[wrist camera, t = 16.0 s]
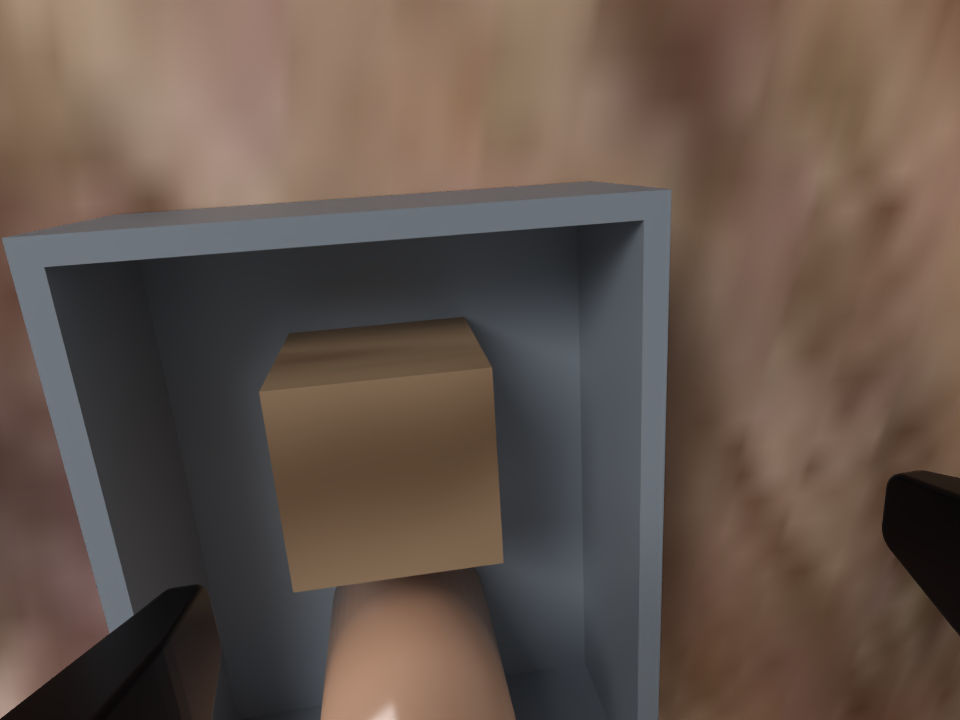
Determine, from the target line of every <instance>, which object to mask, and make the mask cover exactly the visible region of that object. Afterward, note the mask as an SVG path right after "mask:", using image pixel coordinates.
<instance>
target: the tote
mask: <svg viewBox="0 0 960 720" xmlns="http://www.w3.org/2000/svg"><path fill="white" fill-rule="evenodd" d="M670 228H671V189H663V188H653V187H643V186H633V185H623V184H613V183H602V182H592V181H589V182H575V183H561V184H546V185H532V186H518V187H504V188H489V189H475V190H461V191H447V192H432V193H418V194H404V195H390V196H375V197H361V198H347V199H332V200H318V201H304V202H290V203H275V204H261V205H247V206H233V207H218V208H204V209H190V210H176V211H161V212H147V213H133V214H119V215H111V216H106V217H101V218H96V219H92V220H87V221H82V222H77V223H72V224H67V225H63V226H58V227H53V228H48V229H43V230H38V231H33V232H29V233H24V234H19V235H14V236H9V237H4V238H2V241H3V244H4V248H5V252H6V255H7V259H8V263H9V266H10V270H11V274H12V277H13V281H14V284H15V288H16V292H17V295H18V299H19V303H20V306H21V310H22V314H23V317H24V321H25V325H26V328H27V332H28V336H29V339H30V343H31V347H32V350H33V354H34V358H35V361H36V365H37V369H38V372H39V376H40V380H41V383H42V387H43V391H44V394H45V398H46V402H47V405H48V409H49V413H50V416H51V420H52V424H53V427H54V431H55V435H56V438H57V442H58V446H59V449H60V453H61V457H62V460H63V464H64V468H65V471H66V475H67V478H68V482H69V486H70V489H71V493H72V497H73V500H74V504H75V508H76V511H77V515H78V519H79V522H80V526H81V530H82V533H83V537H84V541H85V544H86V548H87V552H88V555H89V559H90V563H91V566H92V570H93V574H94V577H95V581H96V585H97V588H98V592H99V596H100V599H101V603H102V607H103V610H104V614H105V618H106V621H107V625H108V629H109V632H110V633H111V632H112V631H114V630H115V629H116V628H118V627H119V626H120V625H121V624H123V623H124V622H125V621H127V620H128V619H129V618H130V617H132V616H133V615H134V614H136V613H137V612H138V611H139V610H141V609H142V608H143V607H145V606H146V605H147V604H148V603H150V602H151V601H152V600H154V599H155V598H156V597H157V596H159V595H160V594H161V593H163V592H164V591H165V590H167V589H170V588H174V587H180V586H187V585H193V584H201V585H203V586H204V587H205V588H206V590H207V592H208V594H209V598H210V602H211V606H212V610H213V614H214V618H215V622H216V627H217V631H218V635H219V639H220V647H221V658H220V666H219V673H218V680H217V686H216V693H215V700H214V706H213V713H212V720H321V710H322V701H323V691H324V681H325V671H326V662H327V652H328V642H329V632H330V623H331V613H332V603H333V597H334V593H335V589H336V587H330V588H323V589H316V590H309V591H302V592H294V593H293V588H292V582H291V576H290V570H289V564H288V558H287V553H286V547H285V541H284V535H283V529H282V523H281V518H280V512H279V506H278V500H277V494H276V488H275V483H274V477H273V471H272V465H271V459H270V453H269V448H268V442H267V436H266V430H265V424H264V418H263V412H262V407H261V401H260V395H259V391H260V389H261V387H262V385H263V383H264V381H265V379H266V377H267V375H268V373H269V371H270V369H271V368H272V366H273V364H274V362H275V360H276V358H277V356H278V354H279V352H280V350H281V348H282V346H283V344H284V342H285V340H286V338H287V336H288V334H289V333H297V332H308V331H318V330H329V329H340V328H350V327H361V326H371V325H382V324H392V323H403V322H414V321H424V320H435V319H445V318H456V317H465V319H466V321H467V323H468V325H469V326H470V328H471V330H472V332H473V334H474V335H475V337H476V339H477V341H478V343H479V345H480V346H481V348H482V350H483V352H484V354H485V355H486V357H487V359H488V361H489V363H490V365H491V366H492V374H493V390H494V407H495V424H496V441H497V458H498V475H499V492H500V509H501V526H502V543H503V560H504V563H500V564H493V565H486V566H479V567H475V569H476V570H477V572H478V574H479V576H480V578H481V581H482V584H483V588H484V592H485V596H486V600H487V604H488V608H489V612H490V616H491V621H492V625H493V629H494V633H495V637H496V641H497V645H498V649H499V653H500V657H501V661H502V665H503V669H504V673H505V677H506V681H507V685H508V689H509V693H510V697H511V702H512V706H513V710H514V714H515V718H516V720H658V715H659V675H660V634H661V594H662V553H663V513H664V472H665V431H666V391H667V350H668V310H669V269H670Z"/></svg>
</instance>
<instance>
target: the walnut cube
mask: <svg viewBox="0 0 960 720" xmlns="http://www.w3.org/2000/svg"><path fill="white" fill-rule="evenodd" d="M259 395H260V401H261V407H262V412H263V418H264V424H265V430H266V436H267V442H268V448H269V453H270V459H271V465H272V471H273V477H274V483H275V488H276V494H277V500H278V506H279V512H280V518H281V523H282V529H283V535H284V541H285V547H286V553H287V558H288V564H289V570H290V576H291V582H292V588H293V593H294V592H302V591H309V590H316V589H323V588H330V587H337V586H344V585H351V584H358V583H365V582H372V581H379V580H387V579H394V578H401V577H408V576H415V575H422V574H429V573H436V572H443V571H450V570H457V569H464V568H472V567H479V566H486V565H493V564H500V563H504V560H503V543H502V526H501V509H500V492H499V475H498V458H497V441H496V424H495V407H494V390H493V374H492V366H491V365H490V363H489V361H488V359H487V357H486V355H485V354H484V352H483V350H482V348H481V346H480V345H479V343H478V341H477V339H476V337H475V335H474V334H473V332H472V330H471V328H470V326H469V325H468V323H467V321H466V319H465V317H456V318H445V319H435V320H424V321H414V322H403V323H392V324H382V325H371V326H361V327H350V328H340V329H329V330H318V331H308V332H297V333H289V334H288V336H287V338H286V340H285V342H284V344H283V346H282V348H281V350H280V352H279V354H278V356H277V358H276V360H275V362H274V364H273V366H272V368H271V369H270V371H269V373H268V375H267V377H266V379H265V381H264V383H263V385H262V387H261V389H260V391H259Z"/></svg>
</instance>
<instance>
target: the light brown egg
mask: <svg viewBox="0 0 960 720" xmlns="http://www.w3.org/2000/svg"><path fill="white" fill-rule="evenodd" d="M321 720H516V718H515V714H514V710H513V706H512V702H511V697H510V693H509V689H508V685H507V681H506V677H505V673H504V669H503V665H502V661H501V657H500V653H499V649H498V645H497V641H496V637H495V633H494V629H493V625H492V621H491V616H490V612H489V608H488V604H487V600H486V596H485V592H484V588H483V584H482V581H481V578H480V576H479V574H478V572H477V570H476V569H475V567H472V568H464V569H457V570H450V571H443V572H436V573H429V574H422V575H415V576H408V577H401V578H394V579H387V580H379V581H372V582H365V583H358V584H351V585H344V586H337V587H336V589H335V593H334V597H333V603H332V613H331V623H330V632H329V642H328V652H327V662H326V671H325V681H324V691H323V701H322V710H321Z"/></svg>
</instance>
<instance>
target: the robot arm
mask: <svg viewBox="0 0 960 720" xmlns="http://www.w3.org/2000/svg"><path fill="white" fill-rule="evenodd" d="M882 533H883V537H884V540H885V542H886V544H887V546H888V547H889V549H890V550H891V551H892V552H893V554H894V555H895V556H896V557H897V559H898V560H899V561H900V562H901V564H902V565H903V566H904V567H905V569H906V570H907V571H908V572H909V574H910V575H911V576H912V577H913V579H914V580H915V581H916V582H917V584H918V585H919V586H920V587H921V589H922V590H923V591H924V592H925V594H926V595H927V596H928V597H929V599H930V600H931V601H932V602H933V604H934V605H935V606H936V607H937V609H938V610H939V611H940V612H941V614H942V615H943V616H944V617H945V619H946V620H947V621H948V622H949V624H950V625H951V626H952V627H953V628H954V630H955V631H956V632H957V633H958V634H959V636H960V478H957V477H952V476H947V475H943V474H938V473H934V472H929V471H923V470H921V471H912V472H906V473H900V474H896V475H894V476H892V477H891V478H890V479H889V481H888V483H887V487H886V496H885V504H884V513H883V522H882ZM220 658H221V647H220V639H219V635H218V631H217V627H216V622H215V618H214V614H213V610H212V606H211V602H210V598H209V594H208V592H207V590H206V588H205V587H204V586H203V585H201V584H193V585H187V586H180V587H174V588H170V589H167V590H165V591H164V592H163V593H161V594H160V595H159V596H157V597H156V598H155V599H154V600H152V601H151V602H150V603H148V604H147V605H146V606H145V607H143V608H142V609H141V610H139V611H138V612H137V613H136V614H134V615H133V616H132V617H130V618H129V619H128V620H127V621H125V622H124V623H123V624H121V625H120V626H119V627H118V628H116V629H115V630H114V631H112V632H111V633H110V634H109V635H107V636H106V637H105V638H103V639H102V640H101V641H100V642H98V643H97V644H96V645H94V646H93V647H92V648H91V649H89V650H88V651H87V652H85V653H84V654H83V655H82V656H80V657H79V658H78V659H76V660H75V661H74V662H73V663H71V664H70V665H69V666H67V667H66V668H65V669H64V670H62V671H61V672H60V673H58V674H57V675H56V676H55V677H53V678H52V679H51V680H49V681H48V682H47V683H46V684H44V685H43V686H42V687H40V688H39V689H38V690H37V691H35V692H34V693H33V694H32V695H30V696H29V697H28V698H26V699H25V700H24V701H23V702H21V703H20V704H19V705H17V706H16V707H15V708H14V709H12V710H11V711H10V712H8V713H7V714H6V715H5V716H3V717H2V718H1V719H0V720H212V713H213V706H214V700H215V693H216V686H217V680H218V673H219V666H220Z"/></svg>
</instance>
